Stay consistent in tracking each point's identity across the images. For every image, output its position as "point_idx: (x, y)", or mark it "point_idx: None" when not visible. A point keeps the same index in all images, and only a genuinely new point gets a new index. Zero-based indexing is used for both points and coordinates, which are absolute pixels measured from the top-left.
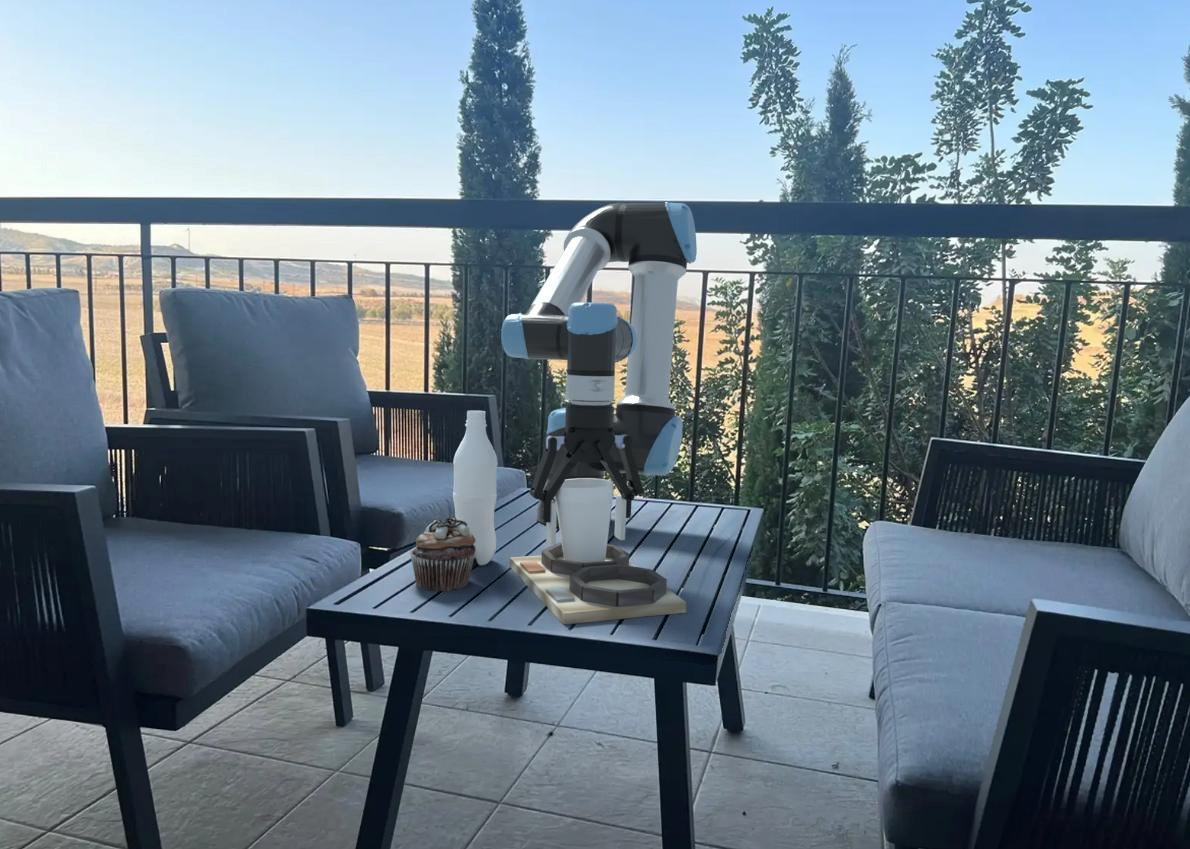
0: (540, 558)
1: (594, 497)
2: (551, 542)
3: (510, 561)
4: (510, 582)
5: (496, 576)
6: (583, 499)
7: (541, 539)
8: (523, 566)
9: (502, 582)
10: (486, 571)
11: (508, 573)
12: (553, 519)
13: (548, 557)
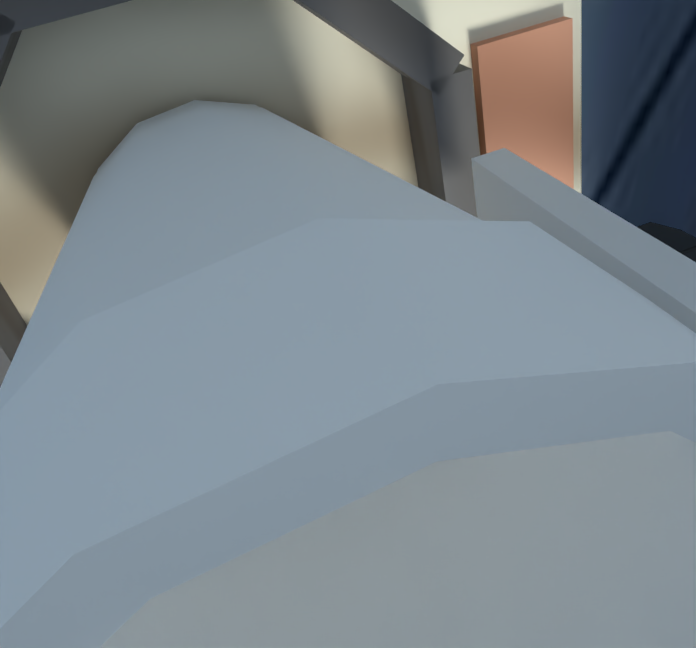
0: None
1: (252, 298)
2: (509, 154)
3: None
4: (613, 32)
5: (646, 137)
6: (453, 243)
7: None
8: (570, 135)
9: (648, 32)
10: (663, 212)
11: (585, 188)
12: (608, 222)
13: (475, 126)
